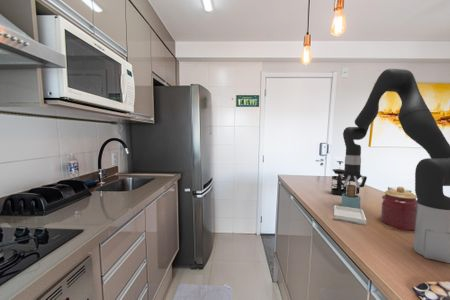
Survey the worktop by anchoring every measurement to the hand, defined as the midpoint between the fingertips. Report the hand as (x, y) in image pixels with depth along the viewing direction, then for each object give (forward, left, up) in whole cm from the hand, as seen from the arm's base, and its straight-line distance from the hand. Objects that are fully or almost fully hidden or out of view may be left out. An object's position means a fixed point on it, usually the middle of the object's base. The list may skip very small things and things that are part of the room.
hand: (351, 193), depth 113 cm
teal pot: (0, 0, -8) cm, 8 cm away
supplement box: (+6, -22, -9) cm, 24 cm away
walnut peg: (0, 0, -8) cm, 8 cm away
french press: (+26, +5, -9) cm, 28 cm away
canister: (-14, -18, -9) cm, 24 cm away
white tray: (-15, +2, -8) cm, 17 cm away
